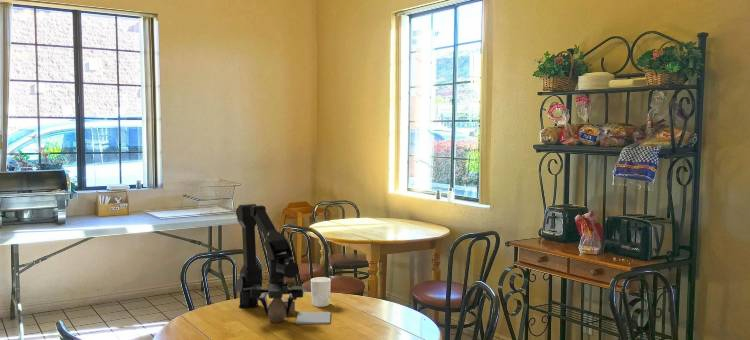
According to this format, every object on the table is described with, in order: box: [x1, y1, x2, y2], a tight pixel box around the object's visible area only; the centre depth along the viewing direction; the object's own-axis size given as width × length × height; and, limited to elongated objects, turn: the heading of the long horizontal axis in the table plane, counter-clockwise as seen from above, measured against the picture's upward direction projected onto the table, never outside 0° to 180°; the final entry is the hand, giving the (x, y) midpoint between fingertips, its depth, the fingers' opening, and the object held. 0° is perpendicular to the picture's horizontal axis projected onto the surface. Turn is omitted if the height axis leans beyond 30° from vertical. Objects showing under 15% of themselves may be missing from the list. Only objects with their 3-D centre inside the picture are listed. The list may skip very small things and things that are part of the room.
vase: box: [268, 298, 287, 323], centre depth 226 cm, size 7×7×9 cm
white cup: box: [310, 276, 332, 308], centre depth 247 cm, size 8×8×10 cm
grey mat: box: [295, 311, 331, 325], centre depth 229 cm, size 12×12×1 cm
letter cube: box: [281, 297, 296, 315], centre depth 236 cm, size 5×5×5 cm
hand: (277, 315), depth 226 cm, fingers closed on vase, 7 cm apart
